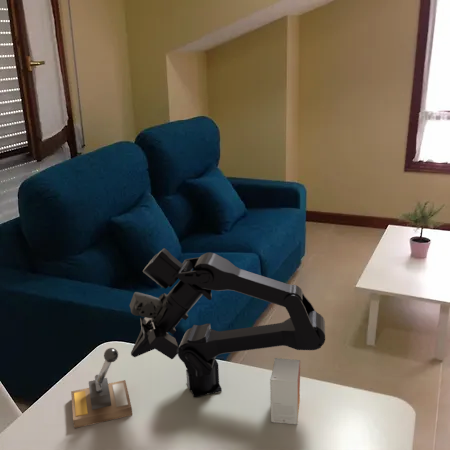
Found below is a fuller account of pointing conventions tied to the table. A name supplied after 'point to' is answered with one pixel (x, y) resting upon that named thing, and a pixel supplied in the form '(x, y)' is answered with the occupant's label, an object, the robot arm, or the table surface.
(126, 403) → the switch unit
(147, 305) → the robot arm
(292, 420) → the small box
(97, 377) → the lever
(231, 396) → the table surface
